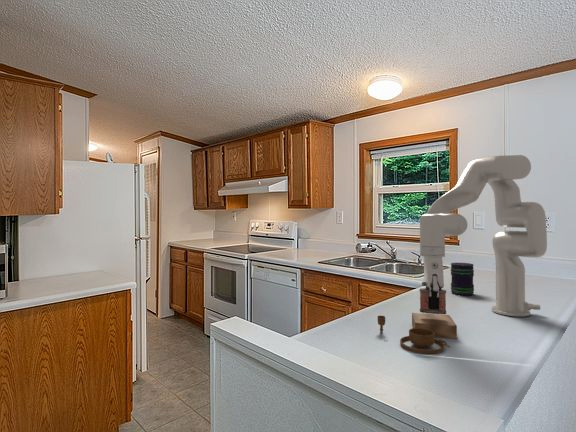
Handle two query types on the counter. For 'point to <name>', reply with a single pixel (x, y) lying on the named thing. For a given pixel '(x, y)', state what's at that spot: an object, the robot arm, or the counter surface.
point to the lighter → (424, 300)
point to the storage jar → (462, 279)
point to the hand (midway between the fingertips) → (432, 307)
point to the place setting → (418, 339)
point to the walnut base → (436, 324)
